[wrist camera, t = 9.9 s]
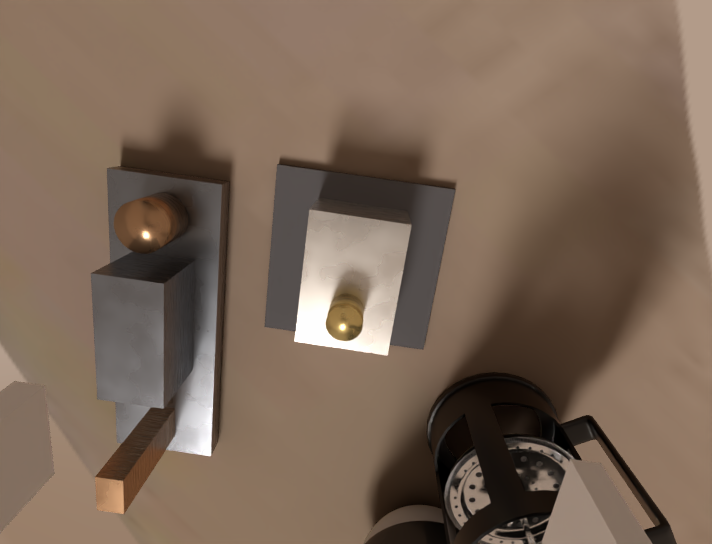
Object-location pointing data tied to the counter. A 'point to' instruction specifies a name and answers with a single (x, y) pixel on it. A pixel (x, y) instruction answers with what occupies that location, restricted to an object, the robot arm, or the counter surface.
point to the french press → (513, 464)
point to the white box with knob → (351, 275)
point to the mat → (421, 202)
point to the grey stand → (159, 322)
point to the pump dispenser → (410, 527)
